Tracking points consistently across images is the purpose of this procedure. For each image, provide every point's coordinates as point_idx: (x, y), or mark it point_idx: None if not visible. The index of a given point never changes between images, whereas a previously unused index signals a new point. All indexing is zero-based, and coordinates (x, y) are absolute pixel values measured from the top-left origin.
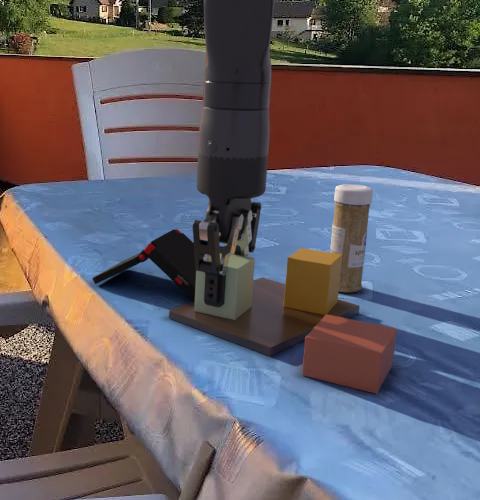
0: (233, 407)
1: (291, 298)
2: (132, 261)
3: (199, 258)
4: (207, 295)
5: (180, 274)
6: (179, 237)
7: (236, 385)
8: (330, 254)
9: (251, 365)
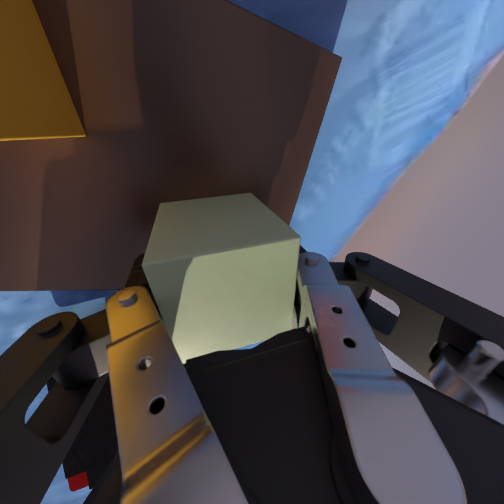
0: (493, 50)
1: (62, 108)
2: None
3: (381, 311)
4: None
5: None
6: (100, 458)
7: (435, 77)
8: None
9: (370, 85)
